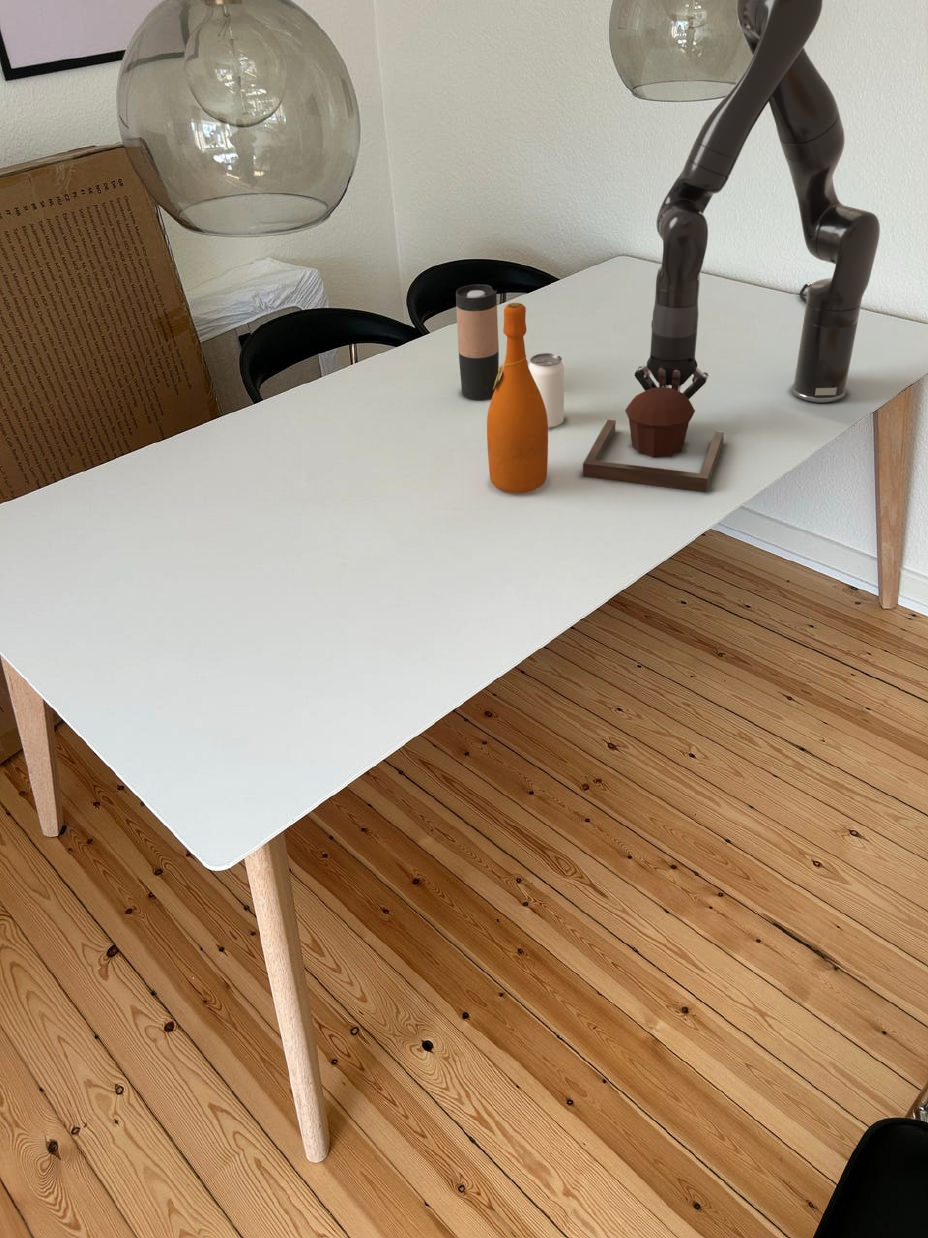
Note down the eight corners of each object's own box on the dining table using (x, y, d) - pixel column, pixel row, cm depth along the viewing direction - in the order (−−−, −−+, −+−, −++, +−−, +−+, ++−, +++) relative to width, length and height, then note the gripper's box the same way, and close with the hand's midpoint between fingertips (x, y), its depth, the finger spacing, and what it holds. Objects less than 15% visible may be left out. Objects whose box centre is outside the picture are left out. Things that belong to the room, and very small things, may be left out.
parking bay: (607, 432, 182) (607, 419, 181) (722, 445, 176) (724, 432, 175) (582, 476, 170) (583, 463, 168) (706, 492, 164) (707, 478, 162)
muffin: (673, 426, 183) (677, 373, 177) (703, 452, 174) (709, 398, 168) (612, 438, 180) (615, 385, 174) (640, 466, 172) (643, 411, 166)
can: (561, 429, 184) (561, 366, 177) (526, 428, 185) (525, 365, 178) (565, 414, 189) (566, 352, 182) (531, 413, 190) (530, 351, 183)
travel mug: (454, 398, 197) (448, 296, 185) (469, 382, 203) (464, 282, 191) (491, 403, 195) (488, 299, 183) (505, 387, 200) (502, 285, 188)
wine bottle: (517, 462, 175) (513, 288, 157) (560, 480, 169) (561, 301, 151) (476, 483, 170) (468, 306, 152) (520, 503, 164) (516, 321, 146)
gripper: (718, 322, 172) (709, 416, 182) (640, 316, 176) (636, 408, 186) (710, 338, 166) (701, 435, 176) (630, 332, 170) (626, 426, 181)
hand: (667, 421), depth 181 cm, fingers closed
